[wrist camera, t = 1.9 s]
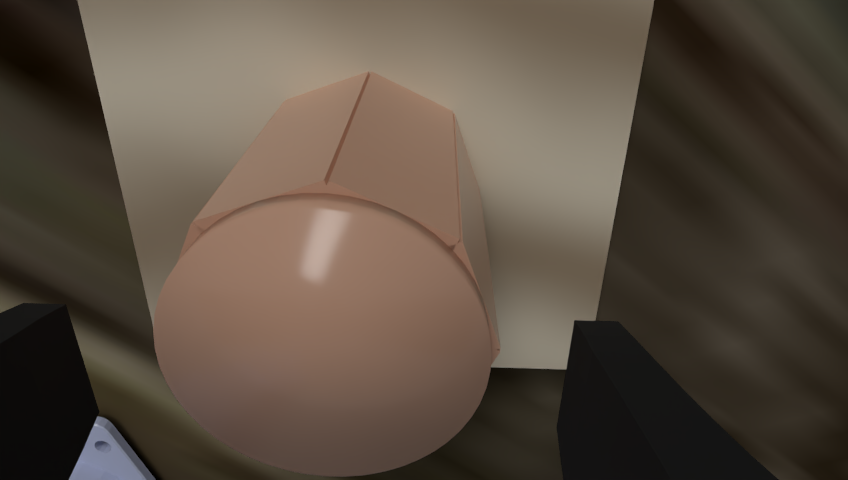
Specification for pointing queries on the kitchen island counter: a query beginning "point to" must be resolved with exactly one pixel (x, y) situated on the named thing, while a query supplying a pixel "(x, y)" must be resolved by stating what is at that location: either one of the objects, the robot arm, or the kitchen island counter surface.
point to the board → (415, 70)
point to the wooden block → (336, 287)
